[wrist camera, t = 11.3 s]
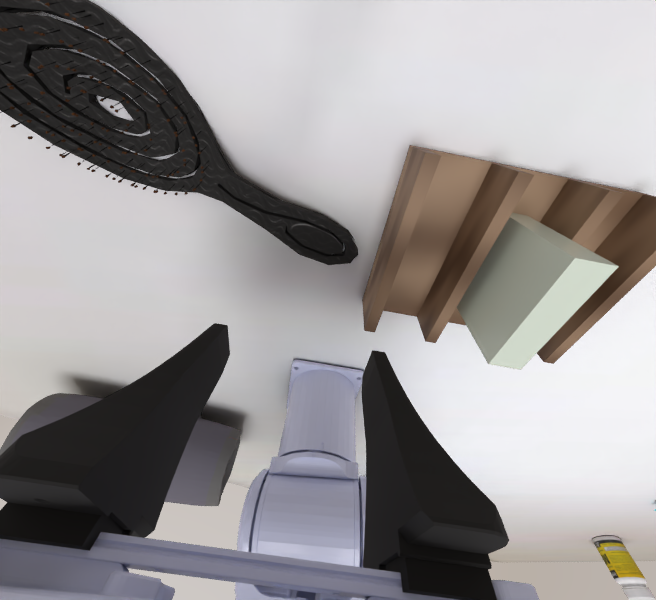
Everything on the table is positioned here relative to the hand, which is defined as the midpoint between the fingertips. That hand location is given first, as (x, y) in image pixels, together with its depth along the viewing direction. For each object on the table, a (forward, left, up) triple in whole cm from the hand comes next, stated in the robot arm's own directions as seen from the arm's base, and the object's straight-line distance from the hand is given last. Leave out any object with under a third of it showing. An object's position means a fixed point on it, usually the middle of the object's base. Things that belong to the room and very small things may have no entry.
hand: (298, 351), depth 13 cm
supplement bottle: (-52, -69, -10) cm, 87 cm away
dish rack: (+3, -12, -10) cm, 16 cm away
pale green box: (+3, -12, -9) cm, 15 cm away
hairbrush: (+6, +9, -11) cm, 15 cm away
